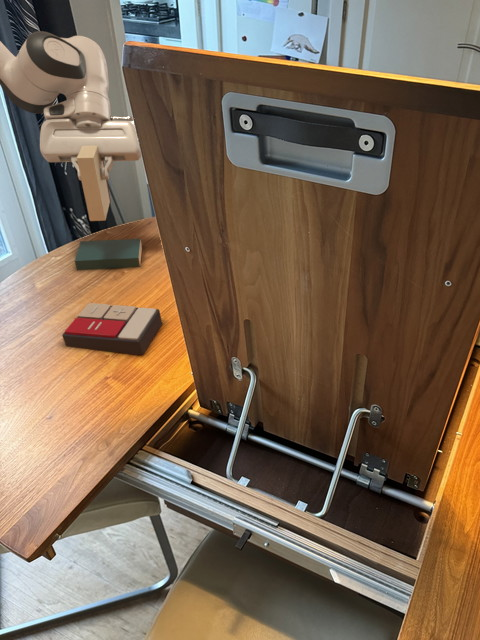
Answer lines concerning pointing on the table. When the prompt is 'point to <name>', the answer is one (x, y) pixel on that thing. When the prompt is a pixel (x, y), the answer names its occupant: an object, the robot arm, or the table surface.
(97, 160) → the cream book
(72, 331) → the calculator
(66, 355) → the table surface
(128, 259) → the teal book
